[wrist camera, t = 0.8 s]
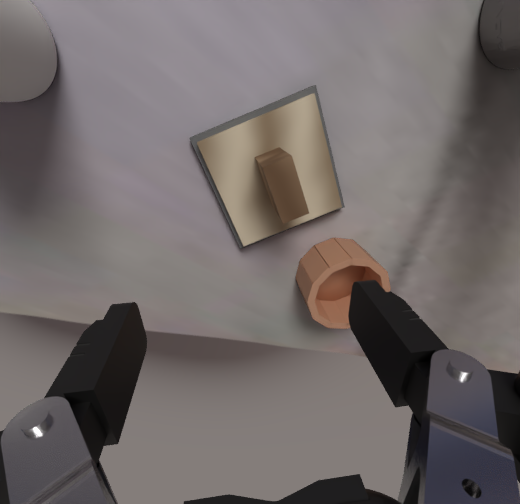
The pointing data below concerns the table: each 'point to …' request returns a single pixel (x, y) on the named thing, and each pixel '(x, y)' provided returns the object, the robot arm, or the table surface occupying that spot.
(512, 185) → the table surface
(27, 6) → the pill bottle
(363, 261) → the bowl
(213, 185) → the mat
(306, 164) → the lid
